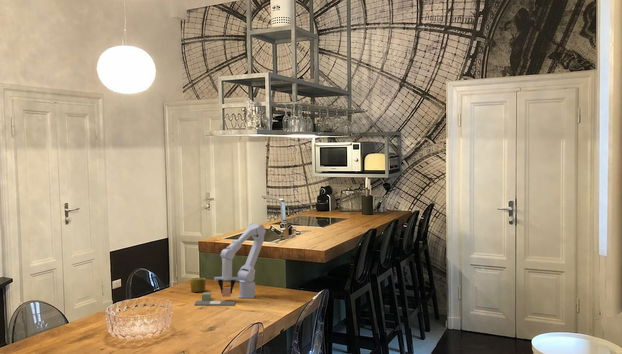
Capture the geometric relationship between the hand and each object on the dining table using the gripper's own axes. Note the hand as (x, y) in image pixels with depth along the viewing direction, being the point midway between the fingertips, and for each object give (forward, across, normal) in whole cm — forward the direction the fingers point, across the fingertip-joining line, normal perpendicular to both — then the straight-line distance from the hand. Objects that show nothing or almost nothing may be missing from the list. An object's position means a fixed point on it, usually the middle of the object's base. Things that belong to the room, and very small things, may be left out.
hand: (226, 293), depth 296 cm
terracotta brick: (+1, 0, 0) cm, 1 cm away
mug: (+4, -20, +23) cm, 31 cm away
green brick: (+4, -12, 0) cm, 12 cm away
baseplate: (+4, -6, -8) cm, 10 cm away
